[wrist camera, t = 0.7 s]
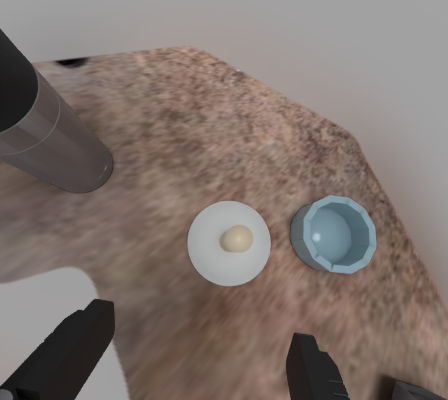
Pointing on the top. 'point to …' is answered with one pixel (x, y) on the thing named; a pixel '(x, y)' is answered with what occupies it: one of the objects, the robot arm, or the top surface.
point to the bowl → (333, 235)
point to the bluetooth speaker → (412, 393)
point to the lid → (229, 243)
